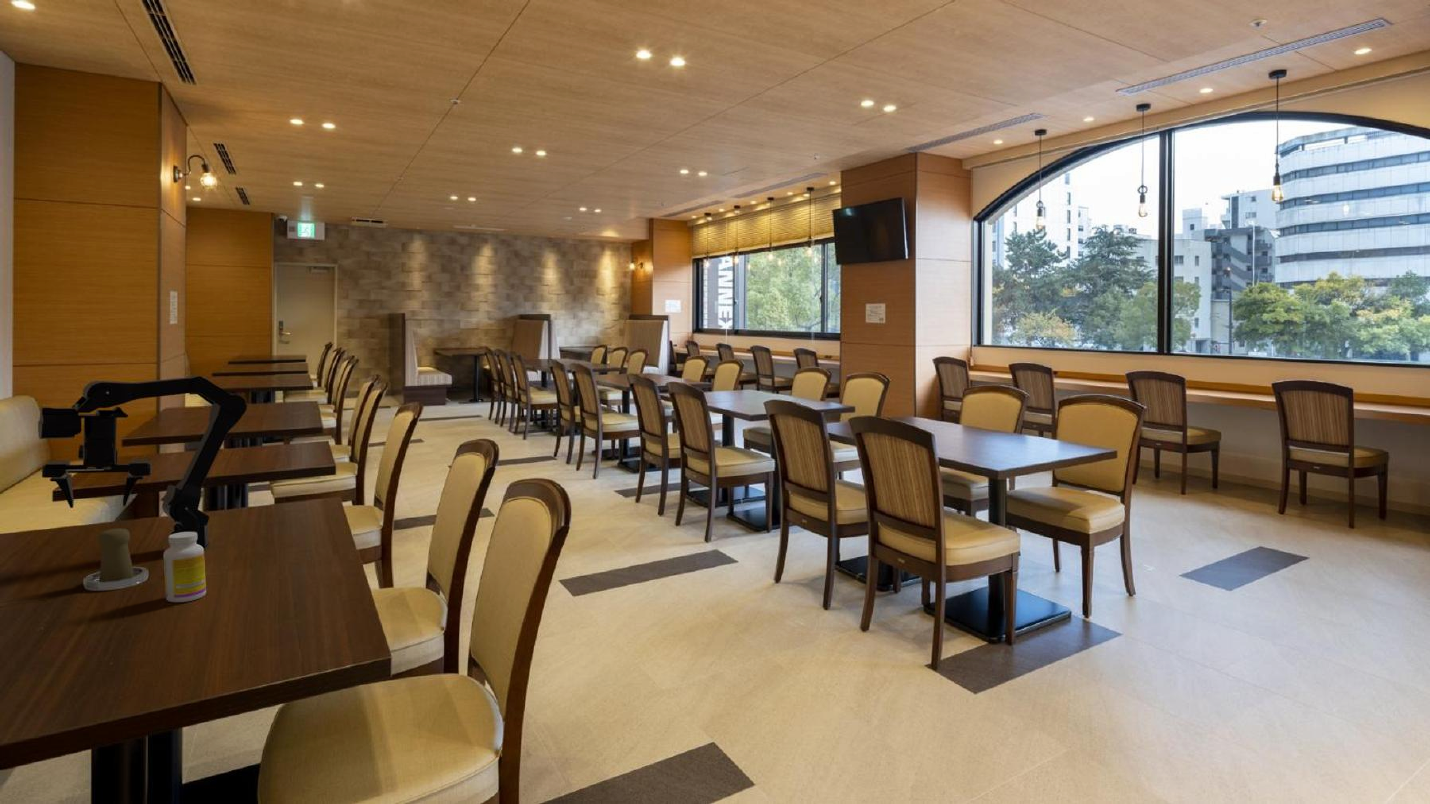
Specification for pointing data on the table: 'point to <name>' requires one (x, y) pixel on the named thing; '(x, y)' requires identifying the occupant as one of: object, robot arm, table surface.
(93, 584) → the ring seat
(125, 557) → the cork
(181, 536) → the supplement bottle
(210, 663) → the table surface
